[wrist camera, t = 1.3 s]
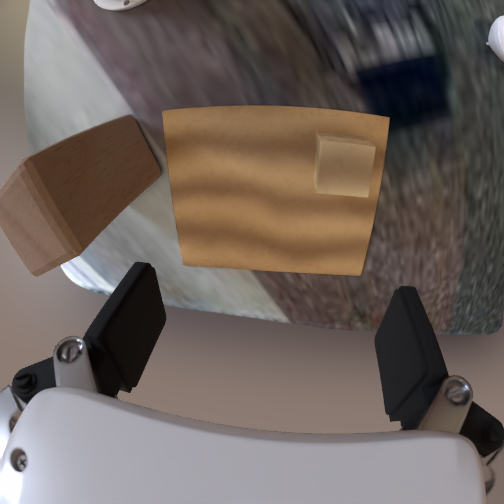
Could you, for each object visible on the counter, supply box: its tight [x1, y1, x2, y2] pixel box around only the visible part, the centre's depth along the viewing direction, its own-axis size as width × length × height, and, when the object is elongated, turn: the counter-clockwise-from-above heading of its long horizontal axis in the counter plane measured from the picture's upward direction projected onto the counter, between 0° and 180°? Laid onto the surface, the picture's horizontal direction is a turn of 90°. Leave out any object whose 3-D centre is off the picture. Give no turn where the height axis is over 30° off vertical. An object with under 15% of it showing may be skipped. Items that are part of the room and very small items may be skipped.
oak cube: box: [314, 132, 376, 198], centre depth 30 cm, size 6×6×5 cm
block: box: [0, 115, 161, 276], centre depth 27 cm, size 10×10×20 cm
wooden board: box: [162, 105, 389, 276], centre depth 37 cm, size 24×28×1 cm
